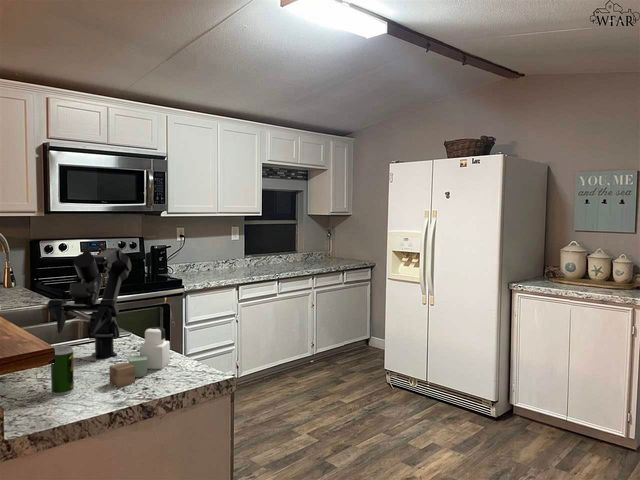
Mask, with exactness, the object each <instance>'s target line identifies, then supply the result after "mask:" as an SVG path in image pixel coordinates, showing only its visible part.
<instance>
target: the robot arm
mask: <svg viewBox="0 0 640 480" xmlns="http://www.w3.org/2000/svg"><path fill="white" fill-rule="evenodd" d="M72 262H73V265H74V268H75V270H76V273H77V276H78V278H80V279H81V282H71V283H70V285H69V292H68V294H69V295H70V296H71V301H72V302H74V303H66V301H65V300H64V299H49V300H48V301H47V304H46V308H47V311H48V312H49V315H50V317H52V318H53V319H55V320H56V326H57V333H58V334H59V335H60V334H61V333H62V331H63V329H64V326H65V325H66V324H65V323H66V321H67V315H68V313H69V312H81V313H83V312H84V313H85V312H87V313H89V312H91V315H90V318H89V320H88V322H87V325H86V326H87V334H88V339H89V340H91V339H92V340H93V339H94V352H92V353H91V355H92V356H93V357H94V358H95V359H96V360H97V359H98V360H99V359H104V358H105V359H106V358H111V357H117V356H118V354H117V353H116V351H114V345H115V344H114V343H115V342H114V339H117V338H120V333H121V332H120V326H119V325H118V322H117V319H116V318H117V317H118V315H119V307H118V303H117V301H118V298H119V297H118V296H119V293H120V288H121V285H122V282H124V281H125V280H126V279H127V278H128V277H129V273H130V272H131V271H132V262H131V260H130V256H129V255H127V254H125V253H124V252H123V251H122V249H121V248H119V247H116V248H115V247H108V248H105V249H104V250H103V251H102V252H100V253H99V254H97V255H93V254H92V252H91V251H90V250H83V251H82V253H80V254H78V255H76V256H75V258H73V261H72ZM103 275H106V276H107V280H106V284H105V288H104V291H103V293H102V297H101V299H100V296H99V294H100V290H101V287H103V279H104V278H103ZM99 299H100V302H99V303H98V304H97V301H99Z"/></svg>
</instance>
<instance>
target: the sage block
mask: <svg viewBox="0 0 640 480" xmlns="http://www.w3.org/2000/svg"><path fill="white" fill-rule="evenodd" d="M128 363H129V364H131V365H134V366H135V378H140V377H148V369H147V357H146V355H140V354H139V355H132V356H130V355H129V356H128Z"/></svg>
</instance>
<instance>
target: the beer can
mask: <svg viewBox="0 0 640 480" xmlns="http://www.w3.org/2000/svg"><path fill="white" fill-rule="evenodd" d="M53 348H54V349H55V363H54V364H51V363H50V384H51V385H50V389H51V390H50V391H51V393H52V394H53V395H54V396H63V395H69V394H71V393H73V391H74V385H75V383H74V349H73V346H71V345H59V346H54V347H53Z"/></svg>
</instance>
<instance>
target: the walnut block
mask: <svg viewBox="0 0 640 480" xmlns="http://www.w3.org/2000/svg"><path fill="white" fill-rule="evenodd" d="M132 383H133V384H135V383H136V377H135V366H134V365H131V364H129V362H126V361H125V362H121V363H118V364H117V363H116V364H113V365H109V384H110V385H112V384H113V386H114V385H115V386H114V387H115V388H121V387H125V385H126V386H130V385H132Z"/></svg>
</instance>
